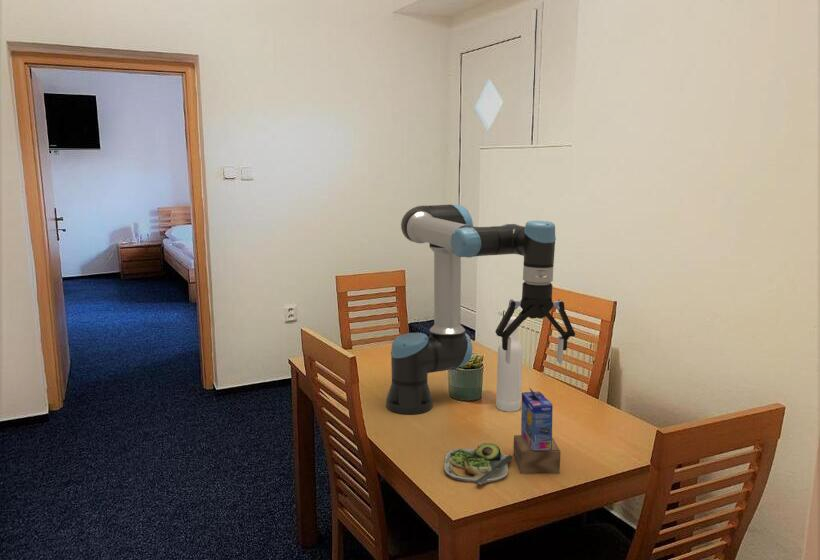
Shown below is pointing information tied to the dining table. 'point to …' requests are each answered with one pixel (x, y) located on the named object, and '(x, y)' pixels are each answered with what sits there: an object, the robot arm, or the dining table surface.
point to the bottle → (509, 375)
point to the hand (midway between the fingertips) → (533, 362)
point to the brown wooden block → (535, 458)
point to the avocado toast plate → (478, 463)
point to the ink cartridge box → (536, 420)
